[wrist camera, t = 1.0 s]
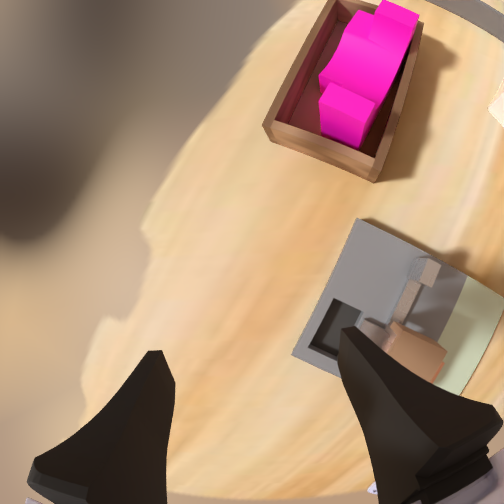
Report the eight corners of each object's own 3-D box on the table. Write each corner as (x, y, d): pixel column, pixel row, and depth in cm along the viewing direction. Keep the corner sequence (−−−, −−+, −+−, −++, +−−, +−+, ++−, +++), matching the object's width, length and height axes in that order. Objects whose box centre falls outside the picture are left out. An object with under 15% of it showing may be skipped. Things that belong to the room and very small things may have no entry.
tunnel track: (500, 298, 21) (535, 307, 15) (439, 411, 22) (459, 443, 16) (355, 219, 25) (364, 208, 19) (293, 349, 27) (282, 376, 20)
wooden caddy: (417, 43, 23) (424, 23, 19) (373, 183, 25) (380, 171, 21) (333, 15, 25) (331, -7, 22) (270, 141, 27) (261, 125, 23)
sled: (462, 284, 21) (485, 290, 17) (409, 387, 22) (421, 408, 18) (395, 249, 23) (409, 248, 19) (341, 358, 24) (343, 377, 20)
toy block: (357, 34, 25) (359, -10, 18) (406, 56, 24) (419, 14, 16) (299, 127, 27) (288, 88, 20) (356, 156, 25) (364, 123, 18)
